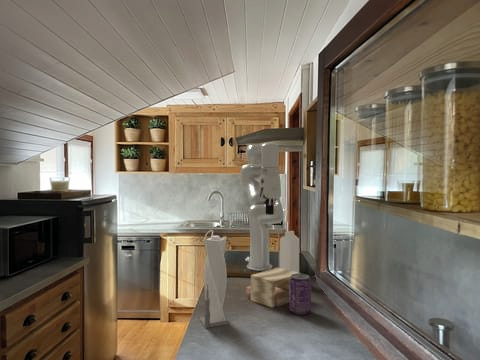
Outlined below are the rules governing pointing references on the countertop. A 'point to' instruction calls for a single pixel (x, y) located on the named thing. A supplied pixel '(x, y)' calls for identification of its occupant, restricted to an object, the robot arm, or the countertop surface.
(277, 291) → the tile
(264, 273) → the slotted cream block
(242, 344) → the countertop surface
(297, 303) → the beverage can
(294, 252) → the milk
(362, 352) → the countertop surface
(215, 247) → the skyscraper
